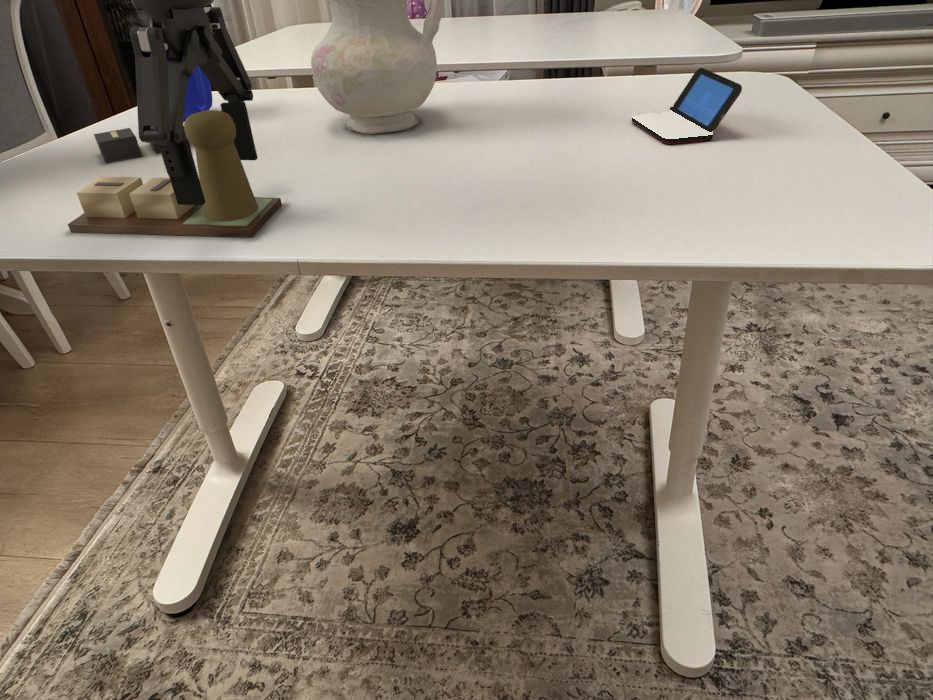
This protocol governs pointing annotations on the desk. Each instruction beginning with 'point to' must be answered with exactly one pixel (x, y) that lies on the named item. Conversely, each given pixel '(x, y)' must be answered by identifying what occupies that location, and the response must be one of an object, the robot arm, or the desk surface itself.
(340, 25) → the ceramic pitcher
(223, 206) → the olive chess pawn
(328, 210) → the desk surface
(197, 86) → the mug
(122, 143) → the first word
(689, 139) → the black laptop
